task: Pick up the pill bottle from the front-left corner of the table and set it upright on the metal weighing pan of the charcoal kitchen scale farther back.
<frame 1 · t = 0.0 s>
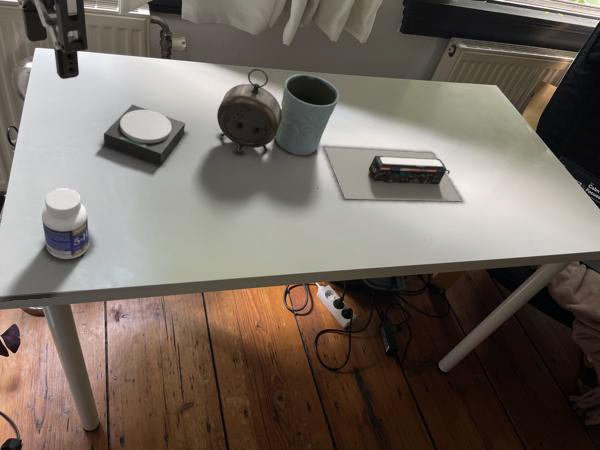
hand: (52, 57, 58), 22 cm above the table, tool pointing down, fingers open, 8 cm apart
pill bottle: (68, 246, 67), on the table
grey flat tray: (392, 174, 97), on the table
scale: (145, 139, 86), on the table
alarm clock: (242, 148, 91), on the table
teal ceramic cup: (296, 142, 97), on the table
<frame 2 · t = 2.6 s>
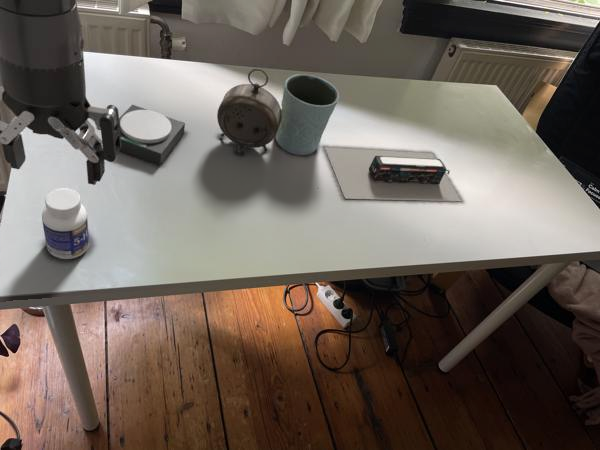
hand: (57, 172, 58), 13 cm above the table, tool pointing down, fingers open, 8 cm apart
nothing on the table moved.
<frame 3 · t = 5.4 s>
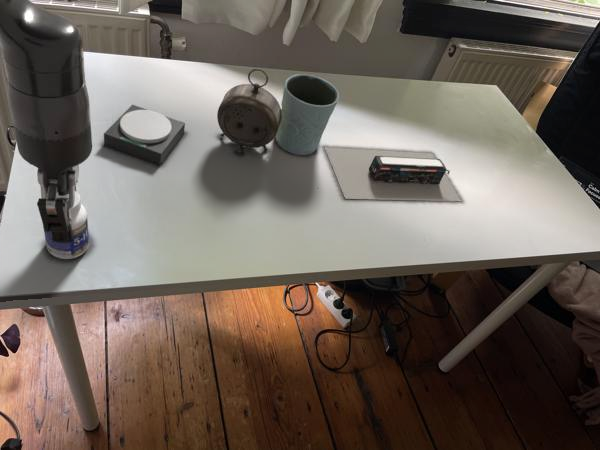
hand: (65, 222, 64), 4 cm above the table, tool pointing down, fingers closed on pill bottle, 5 cm apart
pill bottle: (68, 246, 67), on the table, touching gripper
everything else where it was.
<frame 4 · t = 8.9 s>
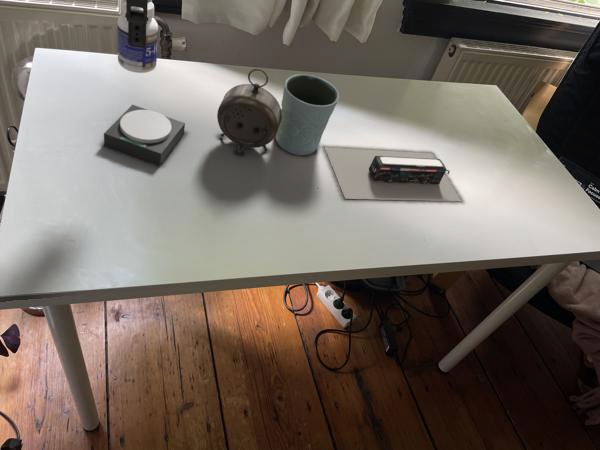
hand: (137, 34, 68), 21 cm above the table, tool pointing down, fingers closed on pill bottle, 5 cm apart
pill bottle: (137, 65, 71), point 17 cm above the table, touching gripper
everything else where it was.
when the fingers open (8 cm above the table, at t = 12.6 s): pill bottle stays where it is, resting on scale.
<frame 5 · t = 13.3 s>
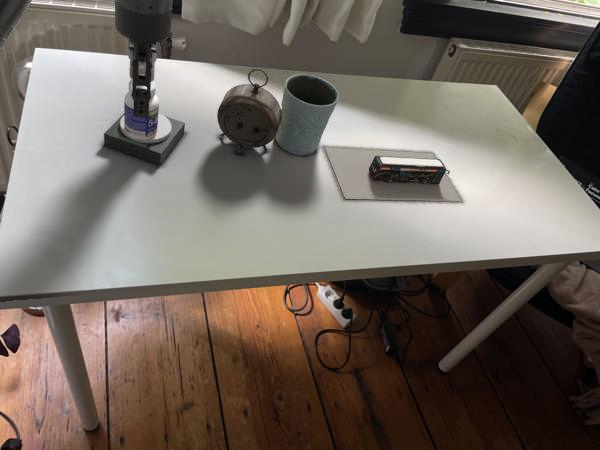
hand: (141, 100, 78), 9 cm above the table, tool pointing down, fingers open, 8 cm apart
pill bottle: (141, 131, 82), point 3 cm above the table, touching scale
everything else where it was.
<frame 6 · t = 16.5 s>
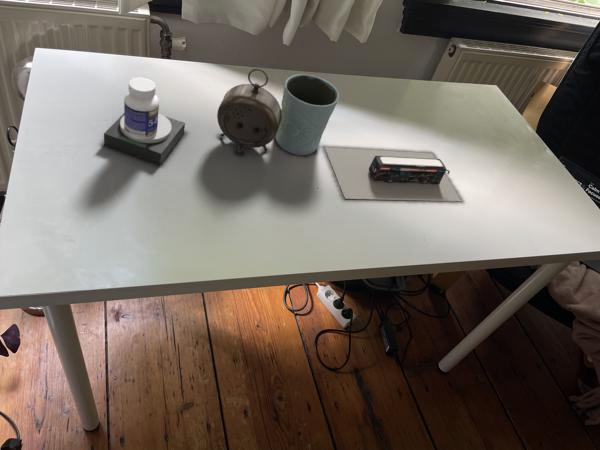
nothing on the table moved.
at the end: pill bottle 2.1 cm off-centre on the scale, point 3.0 cm above the scale's base; pill bottle tilted 0°; the gripper is holding nothing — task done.
